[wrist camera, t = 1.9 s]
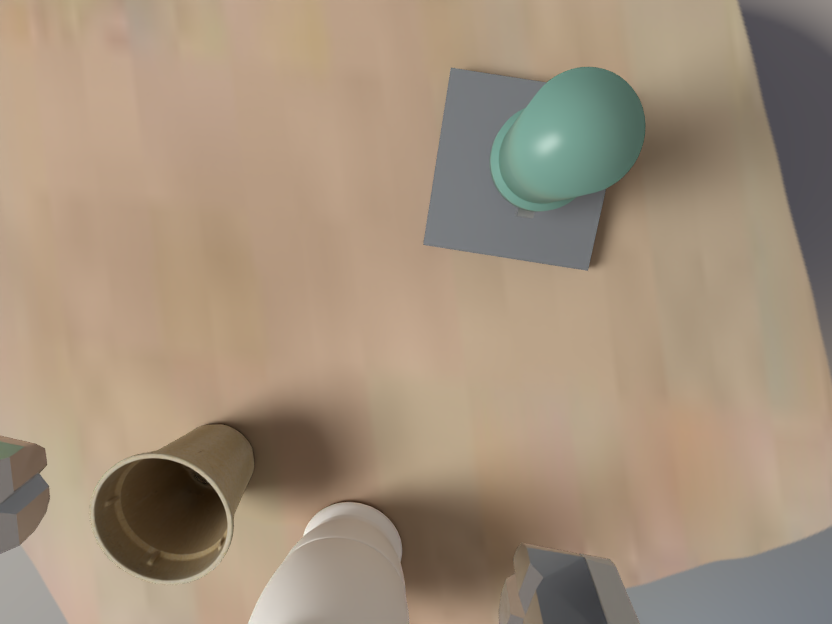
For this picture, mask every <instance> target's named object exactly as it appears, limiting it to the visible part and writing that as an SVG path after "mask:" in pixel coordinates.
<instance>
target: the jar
mask: <svg viewBox="0 0 832 624" xmlns="http://www.w3.org/2000/svg"><path fill="white" fill-rule="evenodd" d="M401 557H402V544H401V539H400V536H399V533H398V531H397V529H396V528H395V526H394V525H393V523H392V522H391V521H390V520H389V519H388V518H387V517H386V516H385V515H384V514H383V513H381V512H380V511H379V510H377V509H375V508H373V507H371V506H368V505H365V504H362V503H356V502H342V503H337V504H333V505H330V506H328V507H326V508H324V509H322V510H321V511H319V512H318V513H317V514H316V515H315V516H314V517H313V518H312V519H311V520H310V522H309V523H308V525H307V527H306V529H305V532H304V535H303V537H302V538H301V539H300V540H299V541H298V542H297V543H296V545H295V546H294V547H293V548H292V549H291V551H290V552H289V554H288V555H287V557H286V558H285V560H284V561H283V563H282V564H281V565H280V566H279V568H278V569H277V570H276V572H275V573H274V574H273V576H272V577H271V579H270V580H269V582H268V583H267V585H266V587H265V588H264V590H263V592H262V594H261V596H260V597H259V599H258V601H257V604H256V606H255V608H254V610H253V613H252V615H251V617H250V620H249V623H248V624H409V613H408V605H407V599H406V590H405V581H404V575H403V570H402V567H401V563H400V562H401Z"/></svg>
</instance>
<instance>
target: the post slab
mask: <svg viewBox="0 0 832 624" xmlns="http://www.w3.org/2000/svg"><path fill="white" fill-rule="evenodd" d="M545 84H546V82H540V81H533V80H527V79H521V78H514V77H508V76H501V75H495V74H488V73H482V72H475V71H469V70H462V69H456V68H451V71H450V77H449V83H448V90H447V96H446V103H445V109H444V115H443V122H442V128H441V135H440V141H439V148H438V154H437V160H436V167H435V173H434V180H433V186H432V192H431V199H430V205H429V212H428V218H427V224H426V231H425V237H424V244H423V245H428V246H435V247H441V248H447V249H454V250H460V251H466V252H473V253H479V254H485V255H492V256H498V257H504V258H511V259H517V260H523V261H530V262H536V263H542V264H549V265H555V266H562V267H568V268H574V269H581V270H587V271H588V268H589V263H590V259H591V254H592V250H593V245H594V241H595V236H596V232H597V227H598V223H599V218H600V214H601V209H602V204H603V200H604V195H605V191H606V189H604V190H601V191H598V192H595V193H591V194H586V195H582V196H578V197H576V198H575V199H574V200H572V201H571V202H569V203H568V204H566V205H564V206H562V207H560V208H557V209H553V210H548V211H540V212H534V218H524V217H518V216H515V211H516V206H514V205H512V204H511V203H509V202H508V201H507V200H506V199H504V198H503V197H502V195H501V194H500V193H499V192H498V190H497V188H496V187H495V185H494V182H493V180H492V177H491V173H490V164H489V159H490V152H491V148H492V145H493V142H494V139H495V138H496V136H497V134H498V132H499V131H500V129H501V128H502V126H503V125H504V124H505V123H506V122H507V120H508V119H509V118H510V117H512V116H513V115H514V114H515V113H517V112H518V111H520V110H522V109H524V108H526V107H527V105H528V104H529V103H530V101H531V100H532V99H533V98H534V96H535V95H536V94H537V92H538V91H539V90H540V89H541V88H542V87H543V86H544V85H545Z"/></svg>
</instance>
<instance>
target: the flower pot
mask: <svg viewBox="0 0 832 624" xmlns="http://www.w3.org/2000/svg"><path fill="white" fill-rule="evenodd" d="M253 471H254V457H253V451H252V447H251V445H250V443H249V442H248V441H247V439H246V438H245V437H244V436H243V435H242V434H241V433H240V432H238V431H237V430H235V429H233V428H231V427H229V426H226V425H222V424H217V425H203V426H200V427H198V428H196V429H194V430H193V431H191V432H189V433H188V434H186V435H184V436H182V437H180V438H179V439H177V440H175V441H173V442H172V443H170V444H168V445H166V446H164V447H163V448H161V449H159V450H157V451H153V452H148V453H142V454H137V455H134V456H131V457H128V458H126V459H124V460H122V461H120V462H118V463H117V464H115V465H114V466H113V467H111V468H110V469H109V470H108V471H107V472H106V473H105V474H104V475H103V476H102V477H101V479H100V480H99V482H98V483H97V485H96V487H95V489H94V491H93V494H92V497H91V502H90V523H91V527H92V531H93V534H94V536H95V538H96V541H97V544H98V545H99V547H100V548H101V550H102V551H103V552H104V554H105V555H106V556H107V557H108V558H109V559H110V560H111V561H112V562H113V563H114V564H115V565H117V567H119V568H120V569H122V570H123V571H125V572H127V573H128V574H130V575H132V576H134V577H136V578H138V579H141V580H144V581H147V582H151V583H155V584H162V585H177V584H184V583H189V582H192V581H195V580H198V579H199V578H201V577H203V576H205V575H207V574H208V573H209V572H211V571H212V570H213V569H215V567H216V566H217V565H218V564H219V563H220V562H221V560H222V559H223V558H224V556H225V554H226V553H227V551H228V549H229V546H230V544H231V541H232V536H233V530H234V514H235V512H236V509H237V507H238V505H239V502H240V500H241V498H242V496H243V493H244V491H245V489H246V487H247V484H248V482H249V480H250V478H251V476H252V474H253ZM195 474H197V475H198V476H199V477H200V478H202V479H203V480H204V481H206V482H207V484H204V483H201V482H200V481H199V480H197V479H196V477H195Z"/></svg>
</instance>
